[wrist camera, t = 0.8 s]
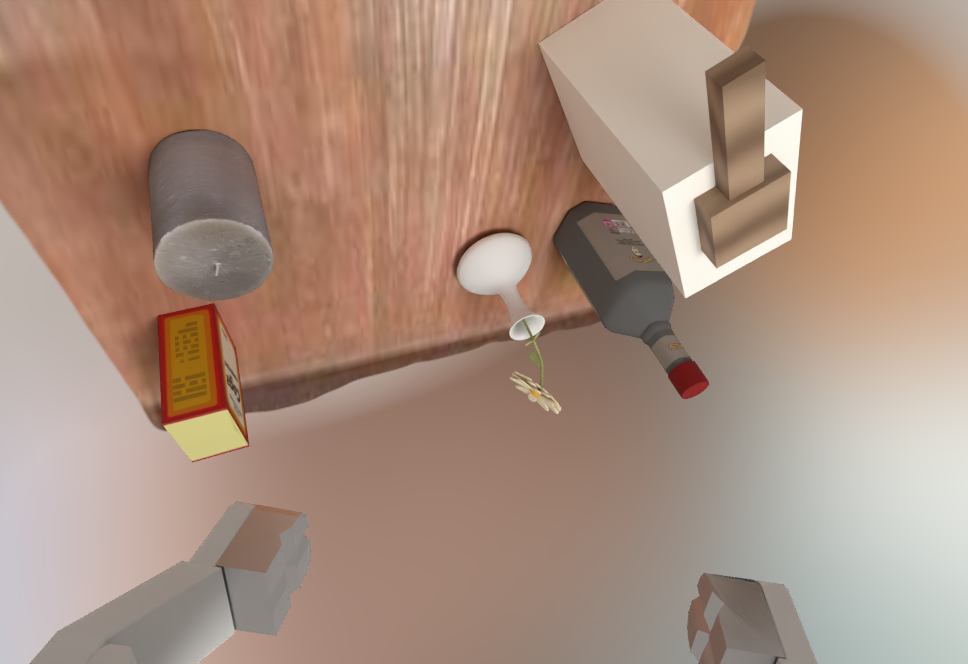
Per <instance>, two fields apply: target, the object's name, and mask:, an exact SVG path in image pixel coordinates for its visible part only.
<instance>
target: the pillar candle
mask: <svg viewBox="0 0 968 664" xmlns="http://www.w3.org/2000/svg"><path fill="white" fill-rule="evenodd" d="M149 192H150V207H151V222H152V239H153V260H154V266H155V270H156V272H157V275H158V277H159V278H160V279H161V280H162V281H163V283H165V284H166V285H167V286H168V287H169V288H171V289H173V290H174V291H176V292H178V293H180V294H182V295H184V296H188V297H190V298H193V299H200V300H208V301H216V300H226V299H231V298H237V297H240V296H242V295H244V294H247V293H250V292H252V291H253V290H255V289H256V288H258V287H259V286H260V285H262V283H263V282H264V281H265V280H266V279H267V278H268V276H269V275H270V273H271V270H272V268H273V250H272V246H271V241H270V237H269V232H268V228H267V223H266V219H265V215H264V210H263V206H262V201H261V196H260V192H259V187H258V182H257V178H256V173H255V169H254V165H253V162H252V160H251V158H250V156H249V154H248V153H247V152H246V150H245V149H244V148H243V147H242V146H241V145H240V144H238V143H237V142H236V141H234V140H233V139H231V138H230V137H228V136H226V135H224V134H220V133H218V132H215V131H210V130H197V131H186V132H181V133H176V134H173V135H170V136H169V137H167V138H165V139H164V140H162V141H161V142H160V143H159V144H158V146H157V147H156V148H155V149H154V150H153V152H152V155H151V158H150V162H149Z"/></svg>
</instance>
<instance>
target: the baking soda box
mask: <svg viewBox="0 0 968 664" xmlns="http://www.w3.org/2000/svg"><path fill="white" fill-rule="evenodd" d="M158 337H159V362H160V387H161V412H162V425H163V426H164V427H165V428H166V430H167V431H168V432H169V433H170V435H171V436H172V437H173V438H174V440H175V441H176V442H177V443H178V445H179V446H180V447H181V448H182V450H183V451H184V452H185V453H186V455H187V456H188V457H189V458H190V460H191V461H192V462H195V461H199V460H202V459H206V458H209V457H213V456H217V455H220V454H223V453H227V452H231V451H234V450H238V449H241V448H245V447H249V441H248V433H247V427H246V419H245V412H244V404H243V397H242V390H241V382H240V375H239V368H238V360H237V353H236V347H235V345H234V343H233V341H232V339H231V337H230V335H229V333H228V331H227V329H226V327H225V325H224V323H223V321H222V319H221V316H220V314H219V312H218V310H217V308H216V306H215V304H209V305H205V306H200V307H195V308H191V309H186V310H182V311H177V312H172V313H168V314H163V315H159V316H158Z"/></svg>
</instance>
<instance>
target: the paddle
mask: <svg viewBox="0 0 968 664" xmlns="http://www.w3.org/2000/svg"><path fill="white" fill-rule="evenodd" d="M765 65H766V60H764V59H763V58H762V57H761V56H759V55H758V54H757V53H756V52H754V51H753V50H752V49H751V48H749V47H748V46H745V47H744V48H742V49H740V50H739V51H737V52H735V53H734V54H732V55H731V56H729V57H727V58H726V59H724V60H722V61H721V62H719V63H718V64H716V65H714V66H713V67H711V68H710V69H708V70H706V71H705V77H706V88H707V98H708V109H709V120H710V130H711V141H712V151H713V162H714V173H715V183H716V186H715V187H713V188H711V189H710V190H708V191H706V192H705V193H703V194H701V195H699V196H698V197H696V198H694V203H695V209H696V216H697V223H698V230H699V237H700V243H701V250H702V252H703V253H704V254H705V255H706V256H707V258H708V259H709V260H710V261H711V263H712V264H713V265H714V266H715V267H716V269H717V268H718V267H720V266H722V265H724V264H726V263H727V262H729V261H731V260H733V259H734V258H736V257H738V256H740V255H742V254H743V253H745V252H747V251H749V250H750V249H752V248H754V247H756V246H758V245H759V244H761V243H763V242H765V241H766V240H768V239H770V238H772V237H774V236H775V235H777V234H779V233H781V232H782V231H784V230H786V229H787V221H788V207H789V194H790V180H791V171H790V170H789V169H788V168H787V167H786V166H785V165H784V164H782V163H781V162H780V161H779V160H778V159H777V158H776V157H775V156H774V155H773V154H772V153H771V154H769V155H768V156H766V157H764V141H765V69H766V67H765Z"/></svg>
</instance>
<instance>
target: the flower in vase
mask: <svg viewBox="0 0 968 664" xmlns="http://www.w3.org/2000/svg"><path fill="white" fill-rule="evenodd" d="M531 259H532V254H531V246H530V244H529V243H528V241H527V240H526V239H525V238H523V237H521V236H519V235H516V234H512V233H497V234H493V235H490V236H487V237H485V238H482V239H481V240H479V241H477V242H476V243H474V244H473V245H472V246H471V247H470V248H469V249H468V250H467V251H466V252H465V253H464V254H463V256H462V257H461V259H460V262H459V264H458V268H457V279H458V281H459V283H460V284H461V285H462V286H463V287H464V288H465V289H466V290H468V291H469V292H472V293H475V294H481V295H494V294H499V295H501V297H502V298H503V300H504V301H505V303H506V305H507V308H508V310H509V313H510V317H511V328H510V332H509V334H510V337H511V338H512V339H514V340H524V339H527V338H530V337H531V340H530V341H528V342H527V343H526V344H525V346H527V345H528V344H530V343H531V342H533V344H534V346H535V349H536V351H537V353H536V352H534V351H529V353H528V356H529V359H530V361H531V362H532V363H533V364H535V365H536V366H537V367H541V377H540V378H541V379H540V384H537V383H536V382H534V381H533V380H532V379H530V378H529V377H527V376H525V375H523V374H520V373H518V372H516V371H514V372H515V373H512V376H513V377H510V379H511V380H513V381H514V382H516V383H518V384H520V385H516V388H517V389H519V390H521V391H523V392H524V393H526V394H528V398H529V399H530V400H531V401H533V402H535V401H537V402H538V403H539V404H540V405H541V406H542V407H543V408H544V409H545V410H546V411H549V409H548V407H549V408H550V409H551V410H553V412H555V413H556V414H558V413H559V412H558V411H560V410H561V407H560V406H559V404H558V402H557V401H556V400H555V399H554V398H553V397H552V396H551V395H550V394H549V393H548V392H547V391H546V390H545V389H543V361H542V357H541V354H540V352H539V349H538V347H537V344H536V342H535V339H536V338H537V337H538V335H539V334H540V332H539V331H540V330H541V329H542V328H543V326H544V324H545V319H544V318H543V317H542V316H541V315H538V314H535V313H533V312H532V311H531V310H530V309H529V308H528V307H527V306H526V304H525V303H524V302H523V300H522V298H521V297H520V295H519V293H518V291H517V284H518V282H519V281H520V280H521V279H522V278H523V277H524V275H525V274H526V272H527V270H528V268H529V266H530V263H531ZM538 332H539V333H538ZM535 334H536V335H535ZM534 335H535V336H534ZM533 336H534V337H533ZM547 406H548V407H547Z"/></svg>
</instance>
